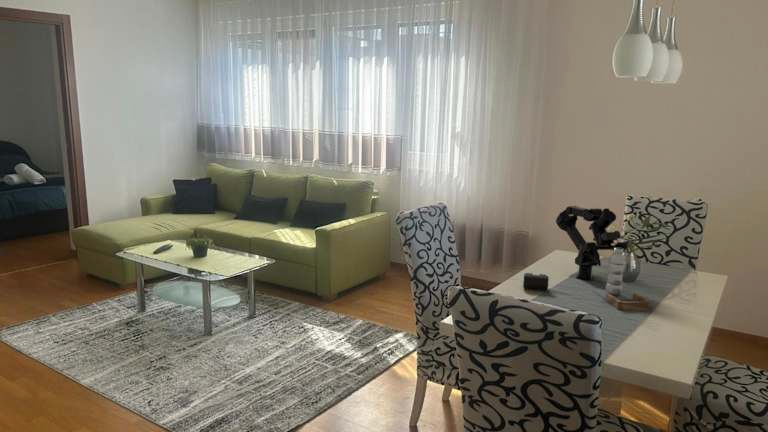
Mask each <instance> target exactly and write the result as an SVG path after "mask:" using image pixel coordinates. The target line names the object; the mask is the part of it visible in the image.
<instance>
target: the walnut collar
mask: <svg viewBox="0 0 768 432" xmlns="http://www.w3.org/2000/svg"><path fill="white" fill-rule="evenodd" d="M632 298H633V300H629V301H620V300H619V299H617V298H616V297H614V296H612V295H611V294H606V300H605V302H607V303H608V304H609V305H611V306H612V307H613V308H615V309H617V310H618V311H641V310H642V311H644V310H645V311H648V310H652V308H653V307H652V306H653V305H652V304H653V302H652V301H651V300H649V299H647V298H646V297H644V296H642V295H640V294H639V293H637V292H635V293H633V295H632Z"/></svg>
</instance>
